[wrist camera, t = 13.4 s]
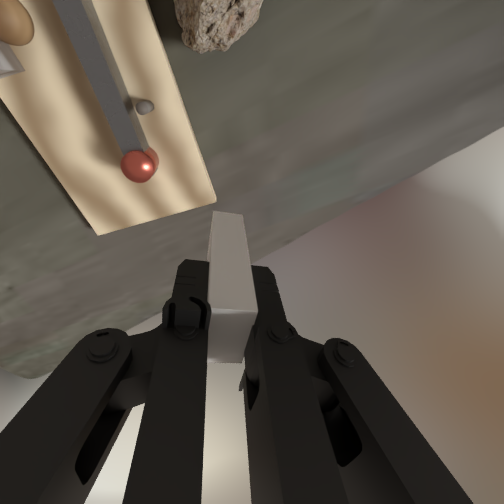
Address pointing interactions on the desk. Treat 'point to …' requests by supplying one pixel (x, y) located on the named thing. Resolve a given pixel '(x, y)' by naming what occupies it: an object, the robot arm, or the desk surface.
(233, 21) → the rock
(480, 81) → the desk surface
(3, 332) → the desk surface
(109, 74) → the lever
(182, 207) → the board
